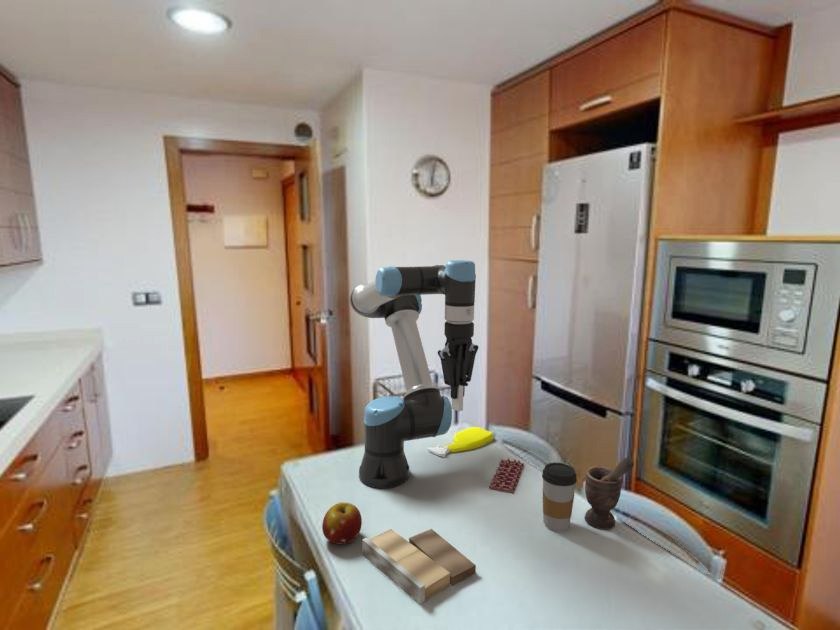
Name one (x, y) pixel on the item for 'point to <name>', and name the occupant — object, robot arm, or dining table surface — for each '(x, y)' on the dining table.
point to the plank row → (406, 565)
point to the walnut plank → (444, 555)
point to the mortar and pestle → (604, 492)
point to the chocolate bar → (507, 476)
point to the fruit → (342, 523)
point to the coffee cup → (558, 495)
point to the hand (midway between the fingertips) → (457, 409)
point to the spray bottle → (465, 441)
